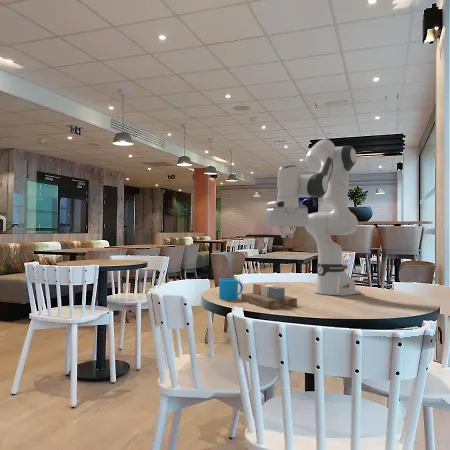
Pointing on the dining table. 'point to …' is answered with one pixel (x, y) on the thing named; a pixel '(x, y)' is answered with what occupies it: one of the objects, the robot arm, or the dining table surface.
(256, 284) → the terracotta cube
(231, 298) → the mug
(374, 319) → the dining table surface
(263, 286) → the cream cube
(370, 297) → the dining table surface
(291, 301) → the wooden pallet
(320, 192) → the robot arm
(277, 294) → the blue-grey cube
